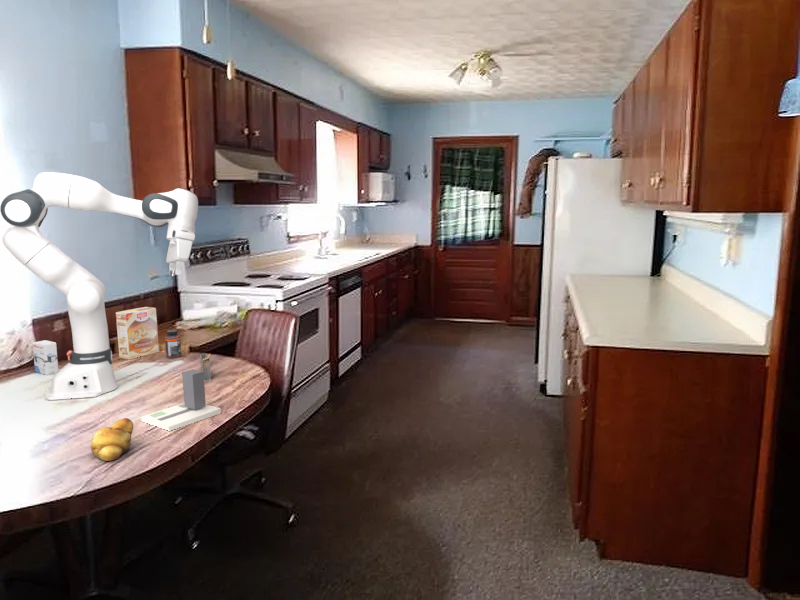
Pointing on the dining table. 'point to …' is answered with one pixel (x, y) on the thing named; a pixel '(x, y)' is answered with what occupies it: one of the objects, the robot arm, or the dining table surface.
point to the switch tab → (194, 389)
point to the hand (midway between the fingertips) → (174, 275)
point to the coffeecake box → (137, 332)
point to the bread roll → (112, 440)
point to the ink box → (45, 357)
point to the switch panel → (179, 416)
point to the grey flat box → (205, 366)
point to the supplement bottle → (172, 344)
